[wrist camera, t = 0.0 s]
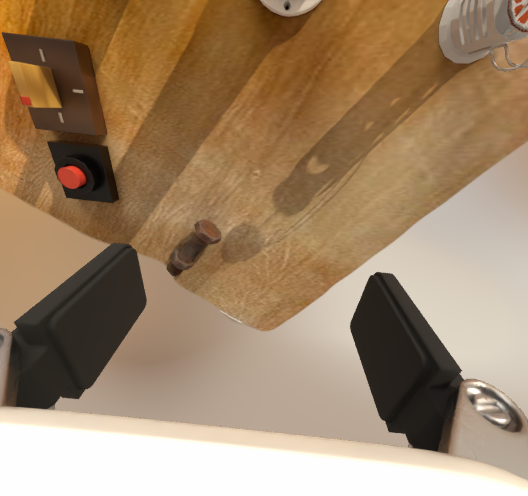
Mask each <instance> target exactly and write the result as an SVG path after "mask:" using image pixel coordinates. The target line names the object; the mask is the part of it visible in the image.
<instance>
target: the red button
mask: <svg viewBox="0 0 528 496" xmlns="http://www.w3.org/2000/svg"><path fill="white" fill-rule="evenodd" d="M58 178H59V180H60V181H61V183H62V184H63V185H65V186H66V187H68V188H71V189H75V188H78V187H81V186H83V185H85V183H86V176H85V174H84V172H83V171H82V170H81V169H80V168H78V167H76V166H67V167H63V168H60V169H59V171H58Z"/></svg>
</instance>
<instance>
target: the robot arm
mask: <svg viewBox="0 0 528 496" xmlns="http://www.w3.org/2000/svg"><path fill="white" fill-rule="evenodd" d="M260 1H261V2H262V4H263V5H264V6H266V7H267V8H268V9H269V10H271V11H272V12H274V13H276V14H278V15H282V16H287V17H290V16H298V15H301V14H304V13H307V12H308V11H310V10H312V9H313V8H315V7H316V6H317V5H318V4H319V3H320V2H321V1H322V0H260ZM286 6H288V7H289V9H288V10H286V9H285V7H286ZM145 306H146V295H145V290H144V285H143V280H142V275H141V271H140V266H139V261H138V256H137V252H136V250H135V249H133V248H132V246H131V245H129V244H120V243H113V244H111V245H110V246H109V247H107V248H106V249H105V250H104V251H102V252H101V253H100V254H99V255H97V256H96V257H95V258H94V259H92V260H91V261H90V262H89V263H87V264H86V265H85V266H84V267H83V268H81V269H80V270H79V271H77V272H76V273H75V274H74V275H72V276H71V277H70V278H69V279H67V280H66V281H65V282H64V283H62V284H61V285H60V286H59V287H58V288H56V289H55V290H54V291H52V292H51V293H50V294H49V295H47V296H46V297H45V298H44V299H42V300H41V301H40V302H39V303H37V304H36V305H35V306H34V307H32V308H31V309H30V310H29V311H28V312H26V313H25V314H24V315H22V316H21V317H20V318H19V319H18V320H16V321H15V322H14V323H15V325H16V326H17V328H16V329H15V330H13V331H12V332H10V331H8V330H7V329H2V328H0V496H528V419H527V418H526V416H525V415H524V413H523V412H522V410H521V409H520V408H519V407H518V406H517V405H516V404H515V403H514V402H513V401H512V400H511V399H510V398H509V397H508V396H507V395H505V394H504V393H503V392H501V391H500V390H498V389H497V388H495V387H494V386H492V385H489V384H488V383H485V382H483V381H480V380H476V379H466V380H464V379H463V378H462V377H461V375H460V374H459V373H460V372H461V371H462V370H461V369H460V367H459V366H458V365H457V363H456V362H455V360H454V359H453V357H452V356H451V355H450V353H449V352H448V351H447V349H446V348H445V346H444V345H443V343H442V342H441V341H440V339H439V338H438V336H437V335H436V334H435V332H434V331H433V329H432V328H431V327H430V325H429V324H428V322H427V321H426V320H425V318H424V317H423V315H422V314H421V313H420V311H419V310H418V308H417V307H416V305H415V304H414V303H413V301H412V300H411V298H410V297H409V296H408V294H407V293H406V292H405V290H404V289H403V287H402V286H401V285H400V283H399V282H398V280H397V279H396V277H395V276H394V275H393V274H390V273H381V272H376V273H375V274H374V275H371V276H370V278H369V279H368V282H367V284H366V287H365V289H364V291H363V294H362V296H361V299H360V301H359V303H358V306H357V308H356V311H355V313H354V316H353V318H352V320H351V325H350V329H351V333H352V336H353V339H354V342H355V345H356V348H357V351H358V354H359V357H360V360H361V363H362V366H363V369H364V372H365V375H366V377H367V381H368V384H369V387H370V390H371V393H372V395H373V398H374V401H375V404H376V408H377V410H378V413H379V416H380V418H381V419H382V420H384V421H385V422H386V425H387V428H388V431H389V432H394V433H403V434H406V437H407V439H408V442H409V445H408V448H407V447H399V446H392V445H384V444H376V443H367V442H359V441H350V440H341V439H331V438H323V437H314V436H305V435H296V434H287V433H277V432H268V431H259V430H249V429H240V428H230V427H221V426H211V425H201V424H192V423H182V422H173V421H162V420H153V419H143V418H133V417H123V416H113V415H102V414H93V413H83V412H73V411H61V410H55V403H56V402H57V400H58V399H59V398H60V396H61V397H63V398H73V399H79V398H80V396H81V395H82V393H83V392H84V390H85V389H88V388H90V387H91V386H92V385H93V384H94V382H95V381H96V379H97V378H98V376H99V375H100V373H101V372H102V370H103V369H104V367H105V366H106V365H107V363H108V362H109V360H110V359H111V357H112V355H113V354H114V353H115V351H116V350H117V348H118V347H119V345H120V344H121V342H122V341H123V339H124V338H125V336H126V335H127V333H128V332H129V330H130V329H131V327H132V326H133V324H134V323H135V321H136V320H137V319H138V317H139V315H140V314H141V313H142V311H143V310H144V308H145Z"/></svg>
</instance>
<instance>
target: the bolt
mask: <svg viewBox="0 0 528 496" xmlns="http://www.w3.org/2000/svg"><path fill="white" fill-rule="evenodd" d="M195 230H196V233H195V235H194V236H193V237H192V239H191V240H190V241H189V242H188V243H187V244H186V245H185V246H184V248H183V249H179V250H176V251H174V252H173V254H172V257H171V260H172V261H171V262H170V263H169V264H168V266H167V270H168V272H169V273H170V274H171V275H172V276H176V275H179V274H180V273H181V272H182V271H183V270H187V269H189V268H191V267H192V266H193V265H194V258H195V257H196V256H197V255H198V254H199V253H200V252H201V251H202V250H203V249H204V248H205V247H206V246H207V245H210V244H215V243H218V242H219V241H220V240H221V233H220V231H219V229H218V228H217V227H216V225H215V224H213V223H212V222H210V221H207V220H200V221H198V222H197V223H196V224H195Z"/></svg>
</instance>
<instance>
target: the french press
mask: <svg viewBox="0 0 528 496" xmlns="http://www.w3.org/2000/svg"><path fill="white" fill-rule="evenodd" d="M515 28H517V29H516V30H515V31H514V32H512V33H511V34H510V35H508V34H509V33H510V32H511V31H512V30H513V29H515ZM518 30H519V32H518V33H516V32H517V31H518ZM507 35H508V36H507ZM526 37H528V0H449V1H448V3H447V5H446V6H445V8H444V12H443V15H442V18H441V21H440V25H439V45H440V47H441V49H442V51H443V54H444V56H445V57H447V58H448V59H450V60H451V61H453V62H454V63H471V62H473V61H476V60H478V59H481V58H483V57H485V56H486V55H487V54H488V53H490V54H491V62H492V64H493V67H495V68H496V69H497V70H499V71H504V72H506V71H511V70H515V69H517V68H526V67H528V65H524V64H525V63H527V62H528V59H527V60H526V61H525V62H523V63H522V64H520V65H516V64H514V63H512V62H511V61H510V59H509V57H508V46H507V44H506V43H509V42H513V41H516V40H520V39H523V38H526ZM499 47H505V56H506V60H507V62H508V64H509V65H511V66H513V67H514V68H504V69H503V68H501V67H499V66H497V65H496V63H495V61H494V55H493V49H496V48H499ZM523 65H524V66H523Z"/></svg>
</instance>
